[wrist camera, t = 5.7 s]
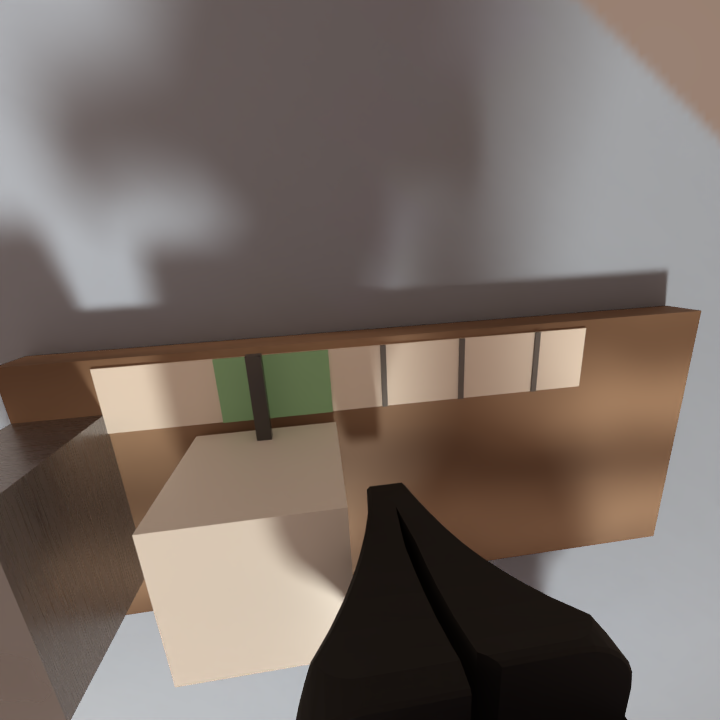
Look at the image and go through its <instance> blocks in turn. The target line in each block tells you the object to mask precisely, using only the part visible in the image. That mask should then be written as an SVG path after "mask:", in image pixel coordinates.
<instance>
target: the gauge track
mask: <svg viewBox="0 0 720 720" xmlns="http://www.w3.org/2000/svg"><path fill="white" fill-rule="evenodd" d="M700 314H701V311H700V310H692V309H685V308H678V307H671V306H658V307H645V308H632V309H620V310H607V311H594V312H582V313H569V314H556V315H544V316H531V317H518V318H505V319H493V320H480V321H467V322H455V323H442V324H429V325H417V326H404V327H391V328H378V329H366V330H353V331H340V332H328V333H315V334H302V335H290V336H277V337H264V338H251V339H239V340H226V341H213V342H201V343H188V344H175V345H163V346H150V347H137V348H124V349H112V350H99V351H86V352H74V353H61V354H48V355H36V356H25V357H22V358H19V359H17V360H14V361H11V362H8V363H5V364H2V365H0V394H1V397H2V400H3V403H4V405H5V408H6V411H7V414H8V417H9V419H10V422H11V424H10V425H8V426H6V427H4V428H3V429H1V430H0V720H71V718H72V716H73V715H74V713H75V711H76V709H77V707H78V705H79V703H80V701H81V699H82V697H83V695H84V694H85V692H86V690H87V688H88V686H89V684H90V682H91V680H92V678H93V676H94V674H95V673H96V671H97V669H98V667H99V665H100V663H101V661H102V659H103V657H104V655H105V653H106V652H107V650H108V648H109V646H110V644H111V642H112V640H113V638H114V636H115V634H116V632H117V631H118V629H119V627H120V625H121V623H122V621H123V619H124V617H125V615H129V614H135V613H142V612H149V611H153V607H152V604H151V600H150V597H149V593H148V590H147V586H146V582H145V579H144V575H143V572H142V568H141V565H140V561H139V558H138V554H137V551H136V547H135V544H134V540H133V537H132V535H133V533H134V532H135V530H136V529H137V527H138V525H139V524H140V522H141V521H142V519H143V518H144V516H145V515H146V513H147V512H148V510H149V509H150V507H151V505H152V504H153V502H154V501H155V499H156V498H157V496H158V495H159V493H160V492H161V490H162V489H163V487H164V485H165V484H166V482H167V481H168V479H169V478H170V476H171V475H172V473H173V472H174V470H175V469H176V467H177V466H178V464H179V462H180V461H181V459H182V458H183V456H184V455H185V453H186V452H187V450H188V449H189V447H190V446H191V444H192V442H193V441H194V439H195V438H196V436H205V435H214V434H224V433H234V432H243V431H253V430H255V424H254V417H253V411H252V404H251V398H250V391H249V384H248V378H247V371H246V364H245V358H244V357H245V355H246V354H256V353H262V359H263V367H264V374H265V381H266V389H267V396H268V403H269V411H270V418H271V425H272V428H282V427H291V426H301V425H310V424H320V423H330V422H336V426H337V433H338V441H339V448H340V456H341V463H342V471H343V478H344V486H345V493H346V500H347V508H348V521H349V534H350V547H351V560H352V574H354V571H355V568H356V565H357V562H358V559H359V555H360V552H361V548H362V543H363V539H364V535H365V529H366V523H367V516H368V505H367V489H368V488H369V487H370V486H377V485H385V484H393V483H401V482H402V483H403V484H404V485H405V486H406V487H407V488H408V489H409V491H410V492H411V493H412V494H413V495H414V496H415V497H416V499H417V500H418V501H419V502H420V503H421V504H422V505H423V506H424V507H425V508H426V509H427V510H428V511H429V512H430V513H431V514H432V515H433V516H434V517H435V518H436V519H437V520H438V521H439V522H440V523H441V524H442V525H443V526H444V527H445V528H446V529H447V530H449V531H450V532H451V533H452V534H453V535H454V536H455V537H457V538H458V539H459V540H460V541H461V542H463V543H464V544H465V545H466V546H468V547H469V548H470V549H472V550H473V551H474V552H476V553H477V554H478V555H480V556H481V557H482V558H484V559H485V560H487V561H489V560H495V559H502V558H509V557H515V556H522V555H529V554H535V553H542V552H549V551H555V550H562V549H569V548H575V547H582V546H589V545H595V544H602V543H609V542H615V541H622V540H629V539H635V538H642V537H649V536H653V535H654V530H655V526H656V521H657V516H658V512H659V507H660V502H661V498H662V493H663V488H664V483H665V479H666V474H667V469H668V465H669V460H670V455H671V451H672V446H673V441H674V436H675V432H676V427H677V422H678V418H679V413H680V408H681V404H682V399H683V394H684V389H685V385H686V380H687V375H688V371H689V366H690V361H691V357H692V352H693V347H694V342H695V338H696V333H697V328H698V324H699V319H700Z"/></svg>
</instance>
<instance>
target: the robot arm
mask: <svg viewBox="0 0 720 720" xmlns="http://www.w3.org/2000/svg"><path fill="white" fill-rule="evenodd" d="M367 505H368V516H367V523H366V529H365V535H364V539H363V543H362V548H361V552H360V555H359V559H358V562H357V565H356V568H355V571H354V574H353V577H352V580H351V583H350V585H349V588H348V590H347V593H346V595H345V598H344V600H343V602H342V605H341V607H340V609H339V611H338V613H337V615H336V617H335V619H334V621H333V623H332V625H331V627H330V629H329V631H328V633H327V635H326V637H325V638H324V640H323V642H322V644H321V645H320V647H319V649H318V650H317V652H316V654H315V656H314V657H313V659H312V661H311V663H310V666H309V669H308V673H307V676H306V680H305V683H304V687H303V691H302V695H301V699H300V703H299V707H298V712H297V717H296V720H627V719H626V717H625V712H626V708H627V704H628V699H629V695H630V690H631V681H632V670H631V667H630V665H629V662H628V660H627V659H626V658H625V656H624V655H623V654H622V653H621V651H620V650H619V649H618V647H617V646H616V645H615V643H614V642H613V641H612V640H611V638H610V637H609V636H608V635H607V633H606V632H605V631H604V630H603V629H602V628H601V626H600V625H599V624H598V623H597V622H596V621H595V620H594V619H593V617H592V616H591V615H590V614H588V613H585V612H583V611H581V610H578V609H576V608H574V607H572V606H569V605H567V604H565V603H563V602H560V601H558V600H556V599H554V598H551V597H549V596H547V595H545V594H543V593H542V592H540V591H538V590H536V589H534V588H532V587H530V586H528V585H526V584H524V583H523V582H521V581H519V580H517V579H516V578H514V577H512V576H510V575H509V574H507V573H506V572H504V571H502V570H501V569H499V568H498V567H496V566H494V565H493V564H491V563H490V562H488V561H487V560H485V559H484V558H482V557H481V556H480V555H478V554H477V553H476V552H474V551H473V550H472V549H470V548H469V547H468V546H466V545H465V544H464V543H463V542H461V541H460V540H459V539H458V538H457V537H455V536H454V535H453V534H452V533H451V532H450V531H449V530H447V529H446V528H445V527H444V526H443V525H442V524H441V523H440V522H439V521H438V520H437V519H436V518H435V517H434V516H433V515H432V514H431V513H430V512H429V511H428V510H427V509H426V508H425V507H424V506H423V505H422V504H421V503H420V502H419V501H418V500H417V499H416V497H415V496H414V495H413V494H412V493H411V492H410V491H409V489H408V488H407V487H406V486H405V485H404V484H403V483H402V482H401V483H393V484H385V485H377V486H370V487H369V488H368V489H367Z"/></svg>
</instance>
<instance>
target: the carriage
mask: <svg viewBox="0 0 720 720" xmlns="http://www.w3.org/2000/svg"><path fill="white" fill-rule="evenodd" d="M244 358H245V364H246V371H247V378H248V384H249V391H250V398H251V404H252V411H253V417H254V424H255V430H253V431H243V432H234V433H224V434H214V435H205V436H196V438H195V439H194V441H193V442H192V444H191V446H190V447H189V449H188V450H187V452H186V453H185V455H184V456H183V458H182V459H181V461H180V462H179V464H178V466H177V467H176V469H175V470H174V472H173V473H172V475H171V476H170V478H169V479H168V481H167V482H166V484H165V485H164V487H163V489H162V490H161V492H160V493H159V495H158V496H157V498H156V499H155V501H154V502H153V504H152V505H151V507H150V509H149V510H148V512H147V513H146V515H145V516H144V518H143V519H142V521H141V522H140V524H139V525H138V527H137V529H136V530H135V532H134V533H133V535H132V537H133V540H134V544H135V547H136V551H137V554H138V558H139V561H140V565H141V568H142V572H143V575H144V579H145V582H146V586H147V590H148V593H149V597H150V600H151V604H152V607H153V611H154V614H155V618H156V621H157V625H158V628H159V632H160V635H161V639H162V642H163V646H164V650H165V653H166V657H167V660H168V664H169V667H170V671H171V674H172V678H173V681H174V685H175V687H180V686H186V685H191V684H197V683H203V682H209V681H215V680H221V679H226V678H232V677H238V676H244V675H250V674H256V673H261V672H267V671H273V670H279V669H285V668H290V667H296V666H302V665H308V664H310V663H311V661H312V659H313V657H314V656H315V654H316V652H317V650H318V649H319V647H320V645H321V644H322V642H323V640H324V638H325V637H326V635H327V633H328V631H329V629H330V627H331V625H332V623H333V621H334V619H335V617H336V615H337V613H338V611H339V609H340V607H341V605H342V602H343V600H344V598H345V595H346V593H347V590H348V588H349V585H350V583H351V580H352V577H353V574H352V560H351V547H350V534H349V521H348V508H347V500H346V493H345V486H344V478H343V471H342V463H341V456H340V448H339V441H338V433H337V426H336V422H330V423H320V424H310V425H301V426H291V427H282V428H272V425H271V418H270V411H269V403H268V396H267V389H266V381H265V374H264V367H263V359H262V353H256V354H246V355H245V357H244Z"/></svg>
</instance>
